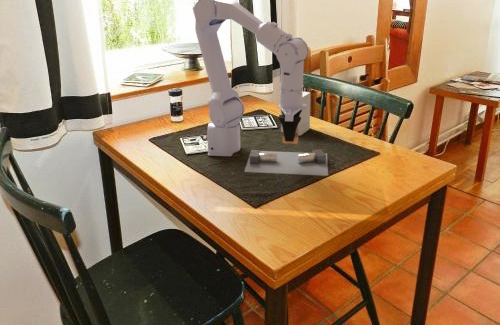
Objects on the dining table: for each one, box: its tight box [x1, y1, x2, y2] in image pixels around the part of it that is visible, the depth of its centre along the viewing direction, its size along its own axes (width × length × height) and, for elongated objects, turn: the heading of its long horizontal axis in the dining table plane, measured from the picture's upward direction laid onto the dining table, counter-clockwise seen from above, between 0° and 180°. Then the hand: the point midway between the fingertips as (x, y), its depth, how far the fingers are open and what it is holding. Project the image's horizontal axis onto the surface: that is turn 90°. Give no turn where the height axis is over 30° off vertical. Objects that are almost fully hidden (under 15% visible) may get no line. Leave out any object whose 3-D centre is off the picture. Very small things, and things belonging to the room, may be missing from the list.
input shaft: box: [249, 149, 277, 164], centre depth 125 cm, size 7×4×3 cm, turn 82°
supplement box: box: [280, 91, 312, 136], centre depth 147 cm, size 7×7×13 cm
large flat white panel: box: [243, 150, 329, 177], centre depth 125 cm, size 22×14×1 cm, turn 82°
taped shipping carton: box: [281, 124, 299, 145], centre depth 120 cm, size 4×4×5 cm
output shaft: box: [297, 148, 326, 164], centre depth 125 cm, size 7×4×3 cm, turn 102°
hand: (289, 137), depth 121 cm, fingers closed on taped shipping carton, 4 cm apart
